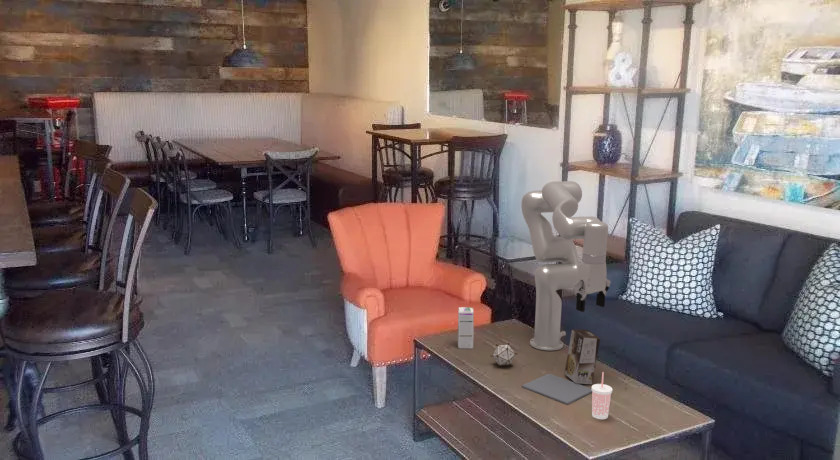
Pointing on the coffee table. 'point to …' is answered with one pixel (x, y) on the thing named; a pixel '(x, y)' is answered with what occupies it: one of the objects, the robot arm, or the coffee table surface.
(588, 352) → the coffee box
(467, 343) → the syrup box
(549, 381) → the mat
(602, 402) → the beverage cup
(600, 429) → the coffee table surface
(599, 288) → the robot arm
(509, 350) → the game die
